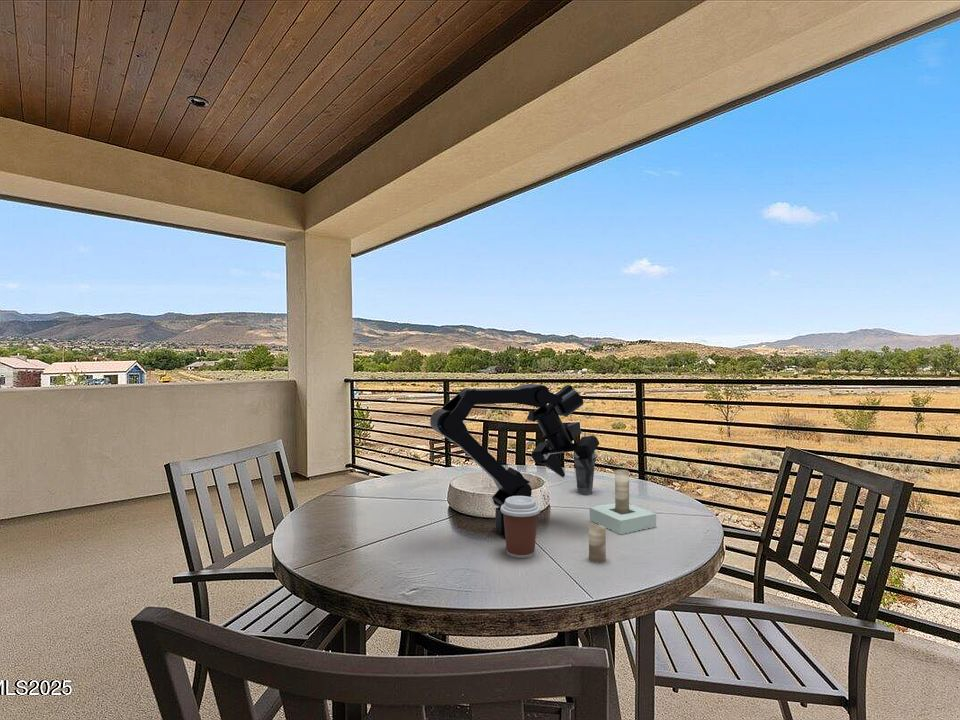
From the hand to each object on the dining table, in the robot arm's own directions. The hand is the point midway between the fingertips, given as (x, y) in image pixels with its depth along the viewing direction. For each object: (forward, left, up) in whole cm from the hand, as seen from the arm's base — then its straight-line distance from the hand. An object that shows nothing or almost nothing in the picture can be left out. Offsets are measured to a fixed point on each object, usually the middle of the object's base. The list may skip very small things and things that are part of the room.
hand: (577, 475), depth 133 cm
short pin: (-11, -21, -13) cm, 27 cm away
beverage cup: (+20, +22, -13) cm, 32 cm away
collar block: (+10, -6, -13) cm, 17 cm away
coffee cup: (-24, -10, -13) cm, 29 cm away
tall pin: (+10, -6, -13) cm, 17 cm away
